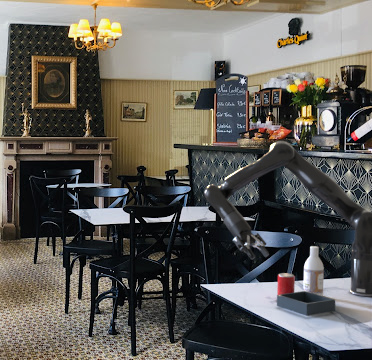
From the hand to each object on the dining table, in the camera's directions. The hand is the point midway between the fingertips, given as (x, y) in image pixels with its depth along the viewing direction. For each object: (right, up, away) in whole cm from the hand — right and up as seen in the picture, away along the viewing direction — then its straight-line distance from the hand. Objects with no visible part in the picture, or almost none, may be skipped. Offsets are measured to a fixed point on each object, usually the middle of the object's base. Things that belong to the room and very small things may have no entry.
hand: (260, 257), depth 234 cm
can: (+6, -16, -9) cm, 19 cm away
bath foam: (+19, -16, -3) cm, 25 cm away
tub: (+9, -17, -21) cm, 28 cm away
